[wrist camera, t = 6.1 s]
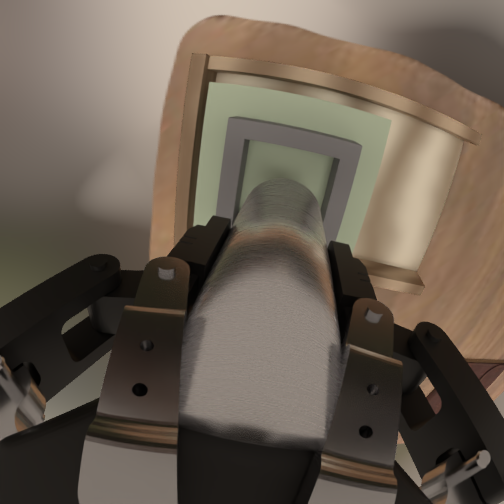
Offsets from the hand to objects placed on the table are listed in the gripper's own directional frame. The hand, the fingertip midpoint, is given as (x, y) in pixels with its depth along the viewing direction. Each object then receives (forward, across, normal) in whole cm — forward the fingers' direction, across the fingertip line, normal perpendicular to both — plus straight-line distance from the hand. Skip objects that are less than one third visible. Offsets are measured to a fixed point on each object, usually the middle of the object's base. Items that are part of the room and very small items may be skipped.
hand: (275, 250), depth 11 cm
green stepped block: (+16, 0, 0) cm, 16 cm away
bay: (+17, -4, 0) cm, 18 cm away
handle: (+4, 0, 0) cm, 4 cm away
